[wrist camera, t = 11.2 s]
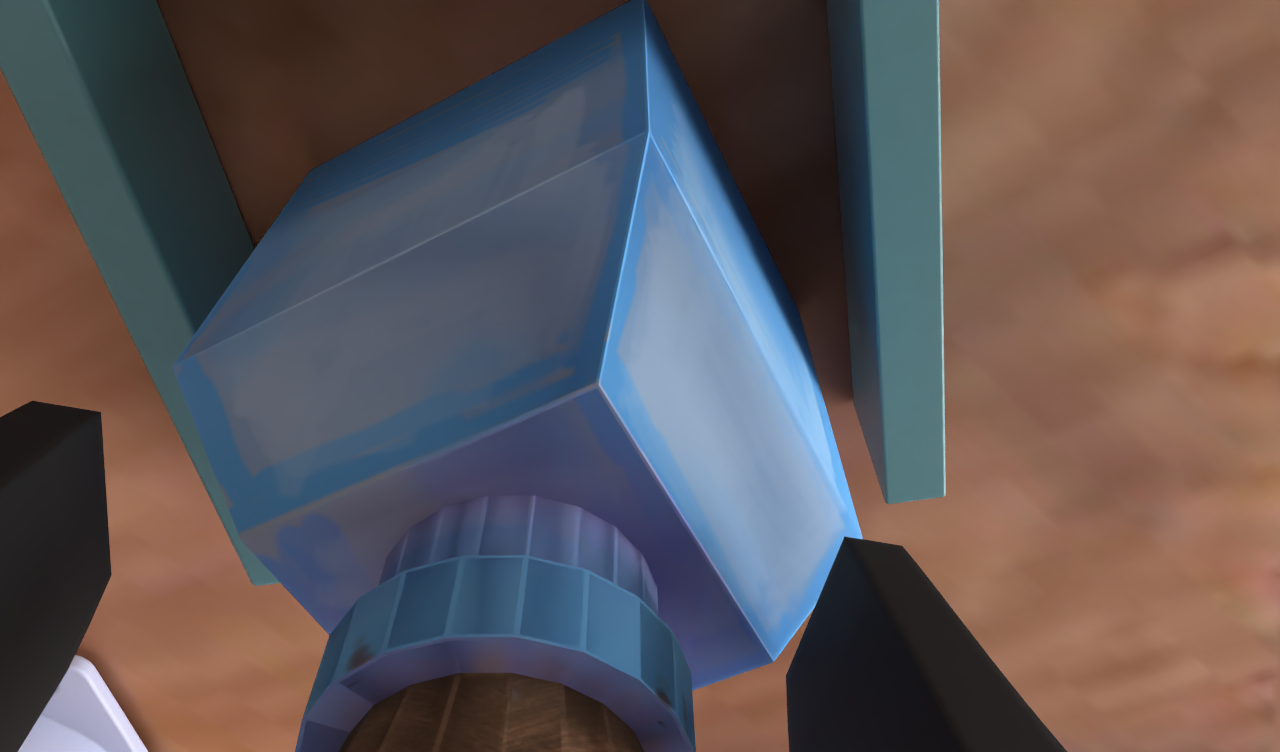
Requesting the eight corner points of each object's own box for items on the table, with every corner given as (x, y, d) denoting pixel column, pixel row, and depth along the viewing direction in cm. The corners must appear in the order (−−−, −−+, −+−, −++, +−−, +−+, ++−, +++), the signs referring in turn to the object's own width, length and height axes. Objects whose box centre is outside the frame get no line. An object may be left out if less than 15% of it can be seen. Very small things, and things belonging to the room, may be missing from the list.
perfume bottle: (502, 441, 20) (375, 1162, 10) (309, 170, 17) (-140, 808, 7) (798, 312, 19) (992, 1005, 9) (643, -7, 16) (663, 481, 6)
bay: (298, 482, 21) (251, 588, 18) (42, -117, 15) (-77, -83, 13) (906, 397, 20) (946, 498, 17) (881, -276, 14) (936, -275, 12)
